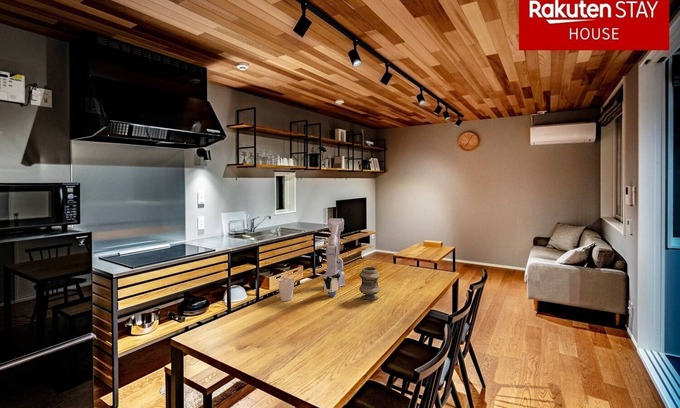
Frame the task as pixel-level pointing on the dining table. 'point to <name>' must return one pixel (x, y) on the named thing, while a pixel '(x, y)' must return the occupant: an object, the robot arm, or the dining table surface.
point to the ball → (332, 293)
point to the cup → (286, 288)
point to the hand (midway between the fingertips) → (331, 287)
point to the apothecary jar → (369, 283)
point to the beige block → (333, 285)
